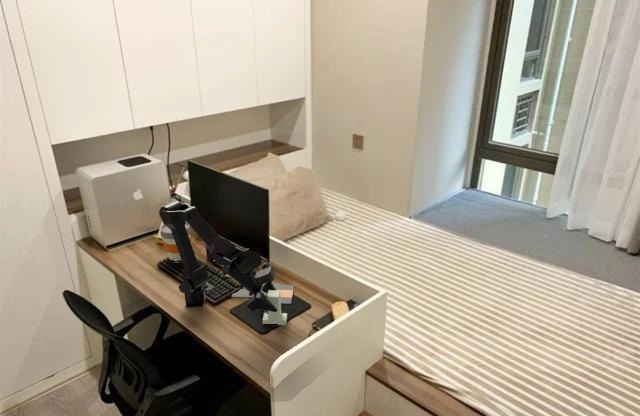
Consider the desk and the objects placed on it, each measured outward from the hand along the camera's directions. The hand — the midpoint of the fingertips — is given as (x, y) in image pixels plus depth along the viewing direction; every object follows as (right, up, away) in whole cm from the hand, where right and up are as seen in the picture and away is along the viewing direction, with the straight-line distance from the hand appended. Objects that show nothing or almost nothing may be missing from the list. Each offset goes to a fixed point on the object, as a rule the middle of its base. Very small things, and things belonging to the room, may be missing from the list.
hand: (278, 304), depth 153 cm
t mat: (-9, 0, +18) cm, 20 cm away
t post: (-1, -7, +3) cm, 7 cm away
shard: (-24, +6, +33) cm, 41 cm away
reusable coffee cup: (-48, +11, +45) cm, 67 cm away
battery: (-32, +10, +43) cm, 55 cm away
